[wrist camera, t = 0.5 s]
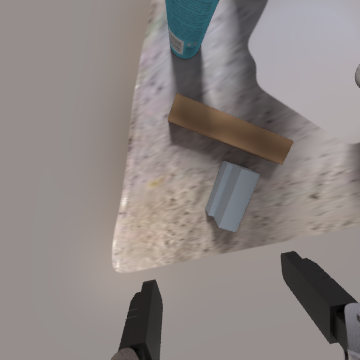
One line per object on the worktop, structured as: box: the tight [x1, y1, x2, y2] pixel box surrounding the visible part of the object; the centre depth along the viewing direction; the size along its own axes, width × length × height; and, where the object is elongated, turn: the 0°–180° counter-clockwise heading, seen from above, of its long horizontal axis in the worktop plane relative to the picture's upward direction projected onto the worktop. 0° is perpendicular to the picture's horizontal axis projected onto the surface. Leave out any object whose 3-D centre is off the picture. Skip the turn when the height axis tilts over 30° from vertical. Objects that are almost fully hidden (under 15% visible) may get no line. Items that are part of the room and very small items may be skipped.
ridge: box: [205, 160, 260, 232], centre depth 32 cm, size 10×5×7 cm, turn 163°
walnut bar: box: [168, 93, 294, 164], centre depth 31 cm, size 4×20×4 cm, turn 70°
